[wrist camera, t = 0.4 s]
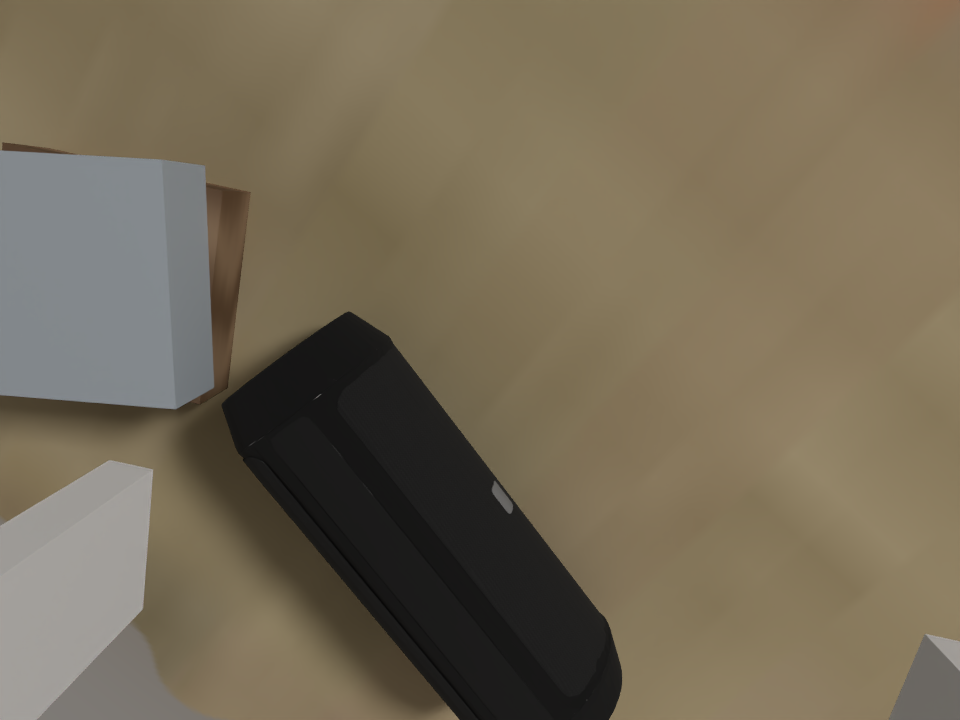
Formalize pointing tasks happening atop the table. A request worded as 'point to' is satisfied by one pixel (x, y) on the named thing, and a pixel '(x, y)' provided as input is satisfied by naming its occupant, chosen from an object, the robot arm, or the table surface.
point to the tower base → (212, 266)
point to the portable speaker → (423, 530)
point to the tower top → (104, 280)
